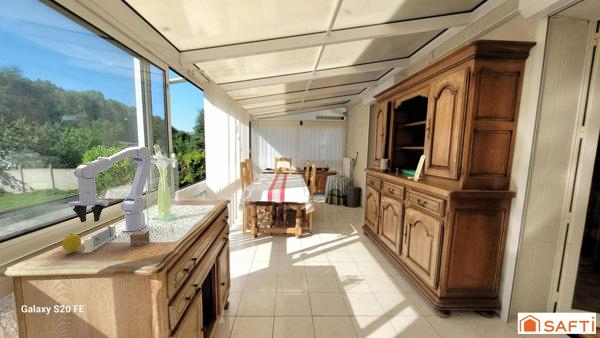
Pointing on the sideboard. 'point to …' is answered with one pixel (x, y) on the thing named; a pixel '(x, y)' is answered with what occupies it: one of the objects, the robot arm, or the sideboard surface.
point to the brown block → (139, 238)
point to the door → (101, 236)
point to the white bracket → (90, 247)
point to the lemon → (71, 243)
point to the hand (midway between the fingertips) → (90, 221)
